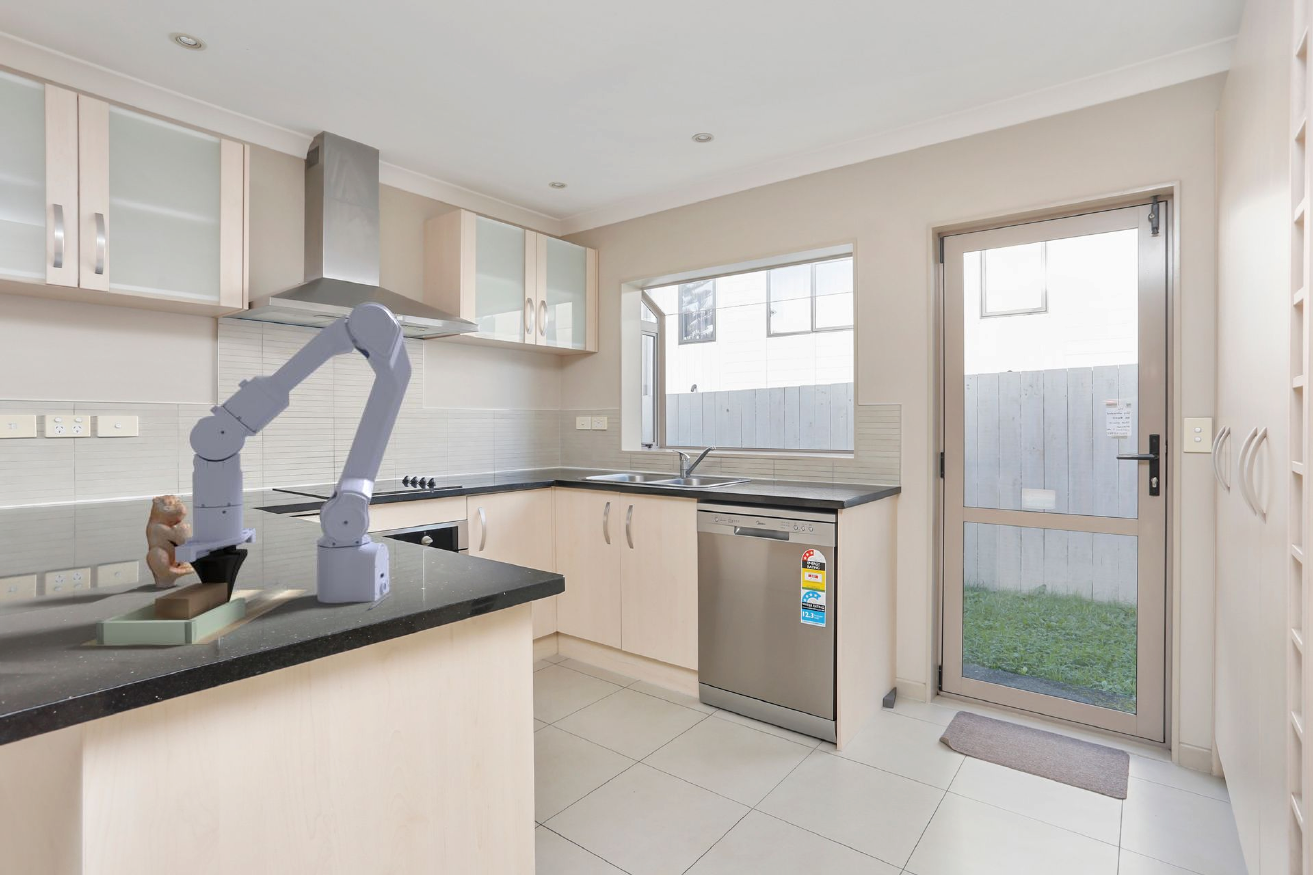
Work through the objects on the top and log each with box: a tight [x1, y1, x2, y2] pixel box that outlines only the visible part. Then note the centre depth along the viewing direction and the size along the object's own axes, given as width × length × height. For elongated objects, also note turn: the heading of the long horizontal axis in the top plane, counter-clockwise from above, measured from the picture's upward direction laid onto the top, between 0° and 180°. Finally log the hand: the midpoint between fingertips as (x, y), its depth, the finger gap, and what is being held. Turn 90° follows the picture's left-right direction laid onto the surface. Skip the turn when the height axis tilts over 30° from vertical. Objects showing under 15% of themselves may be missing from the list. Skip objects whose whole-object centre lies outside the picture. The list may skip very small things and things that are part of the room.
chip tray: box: [95, 597, 245, 646], centre depth 82 cm, size 11×11×2 cm
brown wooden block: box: [176, 582, 227, 611], centre depth 87 cm, size 4×4×4 cm
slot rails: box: [232, 581, 291, 612], centre depth 94 cm, size 8×13×1 cm, turn 3°
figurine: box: [145, 494, 196, 589], centre depth 104 cm, size 6×8×15 cm
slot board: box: [79, 589, 309, 647], centre depth 88 cm, size 14×25×1 cm, turn 3°
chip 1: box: [154, 590, 209, 620], centre depth 83 cm, size 4×4×4 cm
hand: (219, 604), depth 90 cm, fingers closed
